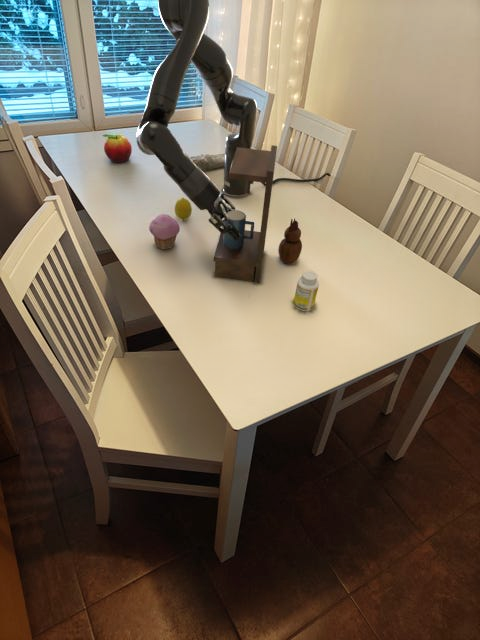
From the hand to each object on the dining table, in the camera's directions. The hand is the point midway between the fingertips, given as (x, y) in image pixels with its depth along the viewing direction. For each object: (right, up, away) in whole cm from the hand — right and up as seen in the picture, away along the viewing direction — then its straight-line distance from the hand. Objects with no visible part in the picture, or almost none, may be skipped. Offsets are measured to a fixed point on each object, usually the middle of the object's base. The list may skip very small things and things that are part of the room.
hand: (240, 232), depth 124 cm
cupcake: (-23, -2, +12) cm, 26 cm away
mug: (-1, -3, +3) cm, 4 cm away
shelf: (-1, -8, +7) cm, 11 cm away
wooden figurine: (+15, -7, +11) cm, 19 cm away
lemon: (-19, +9, +24) cm, 32 cm away
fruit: (-49, +40, +55) cm, 84 cm away
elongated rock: (-10, +39, +58) cm, 70 cm away
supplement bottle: (+17, -21, -4) cm, 27 cm away
